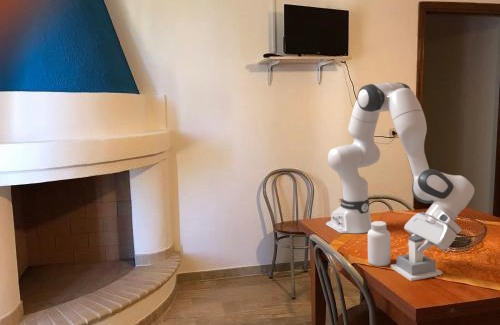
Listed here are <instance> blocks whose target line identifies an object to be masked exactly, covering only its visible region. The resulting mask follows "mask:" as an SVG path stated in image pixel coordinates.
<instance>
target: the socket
mask: <svg viewBox="0 0 500 325" xmlns="http://www.w3.org/2000/svg"><path fill="white" fill-rule="evenodd" d="M436 266H437V265H436V260H434V259H432V257H431V258H430V257H429V256H427V255H425V254H423V262H417V263H412V262H410V261H409V253H408V254H401V255H396V263H392V264H390V268H391V269H392V270H393V271H395V272H396V273H399V274H400V275H401V276H402V277H404V278H406V279H407V280H409V281H410V282H413V281H418V280H423V279H427V278H433V277H438V276H437V275H439V274H443V271H442V270H440V269H439V268H436ZM443 275H444V274H443Z"/></svg>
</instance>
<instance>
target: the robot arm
mask: <svg viewBox="0 0 500 325" xmlns="http://www.w3.org/2000/svg"><path fill="white" fill-rule="evenodd" d="M380 112H389V114H390V118H391V121H392V124H393V126H394V129H395V131H396V134H397V136H398V138H399V140H400V142H401V144H402V147H403V150H404V152H405V155H406V158H407V162H408V164H409V168H410V171H411V175H412V183H411V184H412V185H411V191H412V192H411V193H412V195H413V197H414V199H415V200H417V201H418V202H420V203H423V204H431V205H430V206H429V208H428V209H427V210H426V211H420V212H417V213H416V214H414V215H413V216H411V218H410V219H409V220H408V221H407V222H406V223H405V224H404V227H403V229H404V230H405V231H406V232H407V233H409V234H410V235H411V236H418V237H420V238H423V245H421V246H418V247H417V248H416V251H418V252H419V253H423V254H424V252H425V251H426V250H428V249H430V248H432V246H433V247H436V248H437V249H440V250H442V251H445V250H447V249H449V247H450V246H451V245H452V244H453V242H454V241H455V240H456V238H457V234H460V233H461V232H462V228H461V227H460V226H459V225H458V224H457V223H456V220H457V218H458V215H459V214H460V212H462V211H463V210H465V208H466V207H467V205H468V204H469V203H470V202H471V200H472V198H473V196H474V195H475V187H474V185H473V183H472V181H470V180H469V179H468V178H466V177H465V176H462V175H460V174H459V175H456V174H455V175H454V174H448V173H444V172H441V171H439V170H437V169H435V168H434V169H433V168H430V167H429V164H428V161H427V158H426V157H427V156H426V154H425V140H426V135H427V130H428V129H427V128H428V127H427V121H426V116H425V113H424V110H423V108H422V105H421V103H420V101H419V100H418V98H417V96H416V94H415V92H414V91H413V90H412V89H411V87H410V86H409V85H408V84H406V83H403V82H382V83H375V84H373V83H369V84H365V85H363V86H362V87H360V88H359V90H358V92H357V96H356V101H355V103H354V105H353V108H352V112H351V116H350V120H349V122H348V128H347V131H348V134H349V136H351V137H352V138H353V142H352V143H350V144H344V145H339V146H335V147H334V148H330V150H329V151H328V154H327V163H328V165H329V167H330V168H331V169H332V170H334V171H335V172H336V173H337V174H338V177H339V179H340V181H341V188H342V198H339V199H338V200H339V202H340V206H338V207H337V208H336V209H334V210H333V211H332V212H331V214H330V215H331V216H330V220H328V221H327V222H326V223H325V225H326V226H328V227H329V228H331V229H333V230H335V231H336V232H337V233H340V234H365V233H368V231H369V230H370V229H371V223H372V222H373V221H372V217H371V216H372V214H371V210H370V198H369V190H368V189H369V186H368V185H369V183H368V181H367V180H366V179H365V177H362V176H361V175H360V174H359V170H358V169H360V168H365V167H370V166H372V165H374V164H376V163H378V162H379V160H380V158H381V150H380V148H379V147H378V145H377V144H376V142H375V132H376V128H377V124H378V122H379V117H380V114H381V113H380ZM407 247H409V242H408V243H407Z"/></svg>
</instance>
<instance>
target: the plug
mask: <svg viewBox="0 0 500 325" xmlns="http://www.w3.org/2000/svg"><path fill="white" fill-rule="evenodd" d="M408 243H409V246H408V254H409V261H410V262H412V263H417V262H423V255H424V252H423V253H419V252H418V251H416V248H417V247H418V246H421V245H423V244H424V240H423V238H420V237H418V236H408Z"/></svg>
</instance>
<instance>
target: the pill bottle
mask: <svg viewBox="0 0 500 325" xmlns="http://www.w3.org/2000/svg"><path fill="white" fill-rule="evenodd" d="M371 222H372V223H371V229H370V230H369V231H368V232H367V261H368V264H370V265H372V266H376V267H386V266H388V264H389V265H391V261H392V260H391V256H392V255H391V232H390V231H389V230H388V229H387V223H386V222H385V221H383V220H382V221H381V220H380V221H379V220H376V221H375V220H374V221H371Z"/></svg>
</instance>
